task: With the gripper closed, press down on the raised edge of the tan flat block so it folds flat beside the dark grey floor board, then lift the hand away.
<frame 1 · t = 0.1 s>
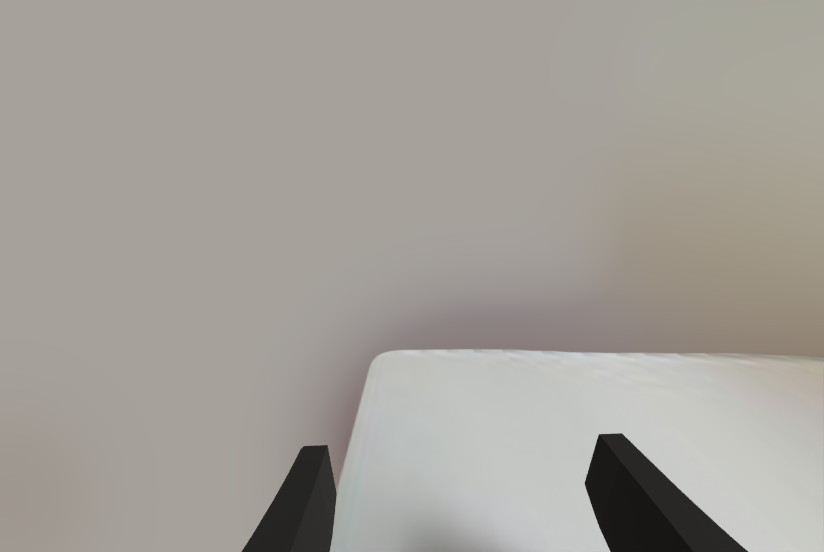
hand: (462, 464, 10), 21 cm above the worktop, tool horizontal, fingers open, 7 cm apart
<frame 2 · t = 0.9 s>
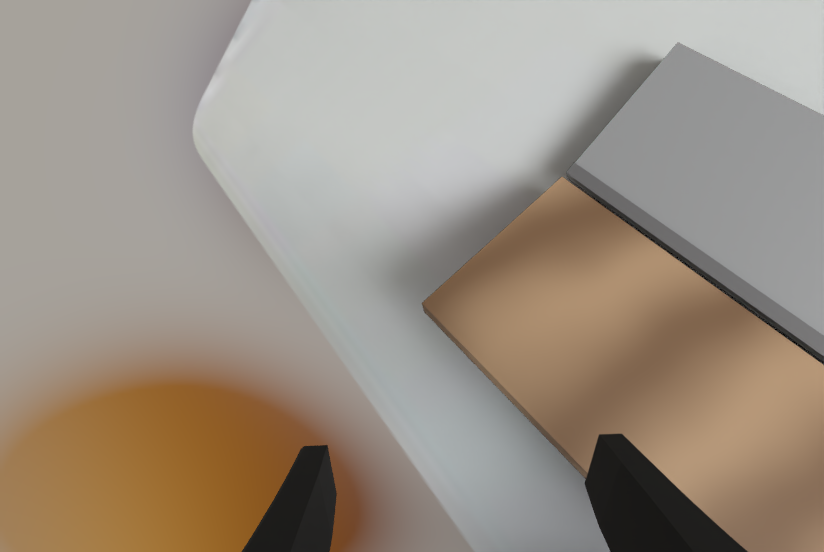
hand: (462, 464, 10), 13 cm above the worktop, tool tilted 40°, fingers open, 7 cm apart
tan flat block: (651, 380, 16), point 3 cm above the worktop, hinge at 30.0°
floor board: (796, 232, 16), on the worktop
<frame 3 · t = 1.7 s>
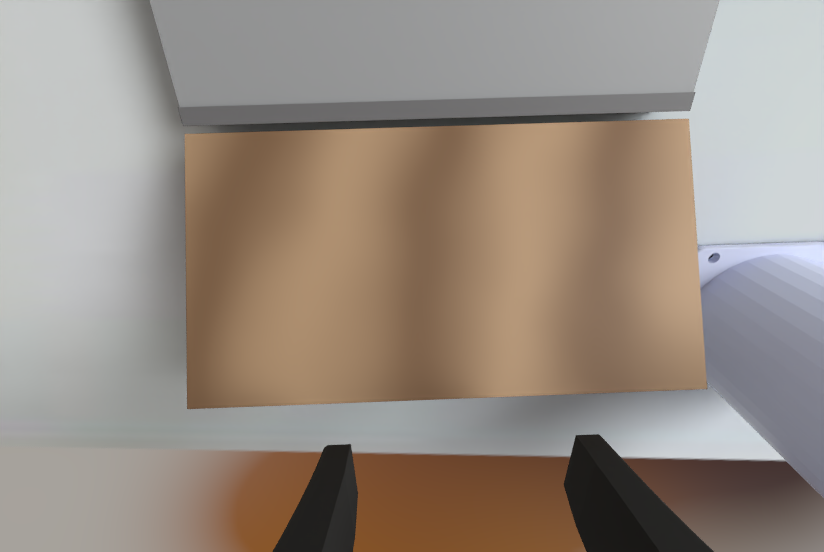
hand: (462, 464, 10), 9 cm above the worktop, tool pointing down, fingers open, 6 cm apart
tan flat block: (442, 262, 14), point 3 cm above the worktop, hinge at 30.0°
floor board: (435, 6, 13), on the worktop
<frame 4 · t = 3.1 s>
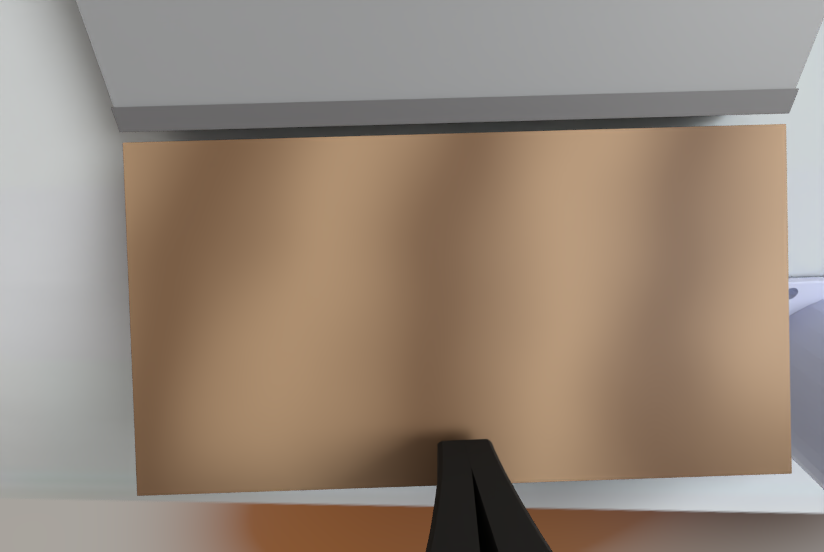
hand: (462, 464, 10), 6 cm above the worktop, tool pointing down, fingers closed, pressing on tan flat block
tan flat block: (457, 307, 11), point 3 cm above the worktop, hinge at 26.8°, touching gripper
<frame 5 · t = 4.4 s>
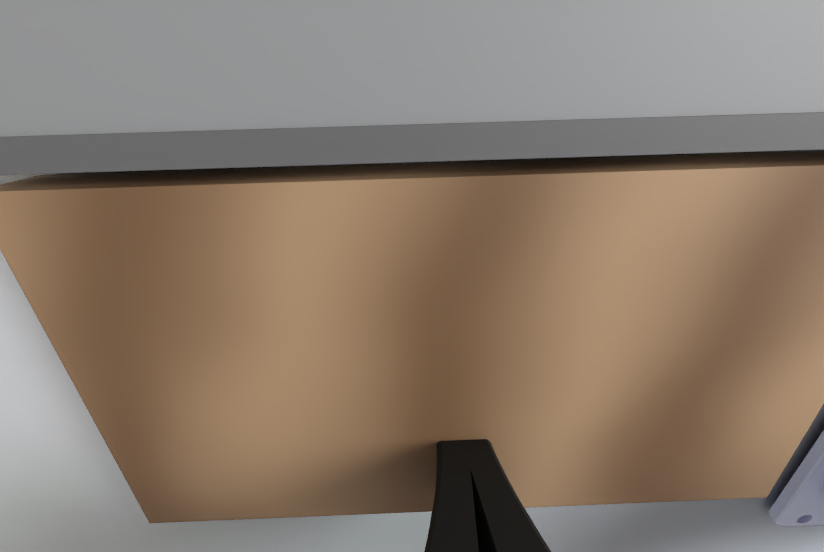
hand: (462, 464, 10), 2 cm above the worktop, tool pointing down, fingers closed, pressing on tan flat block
tan flat block: (462, 362, 10), point 1 cm above the worktop, hinge at 1.1°, touching gripper
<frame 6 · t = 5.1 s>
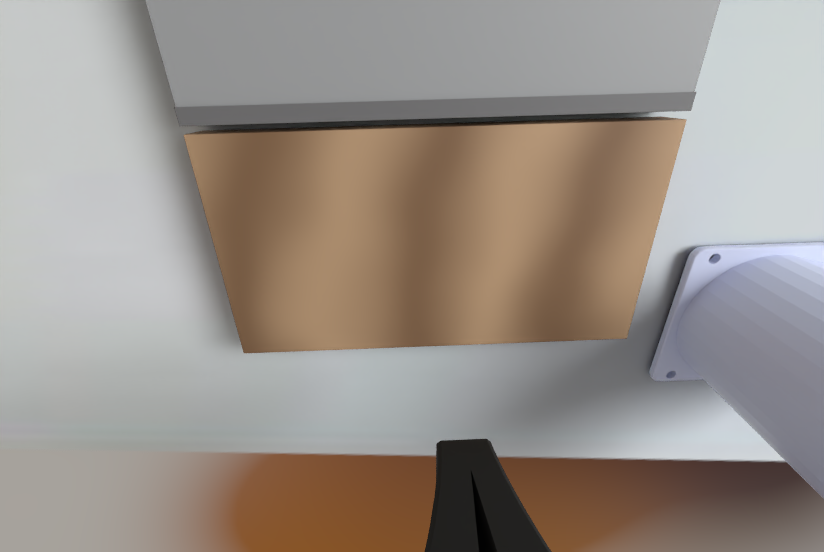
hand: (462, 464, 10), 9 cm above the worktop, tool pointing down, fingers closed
tan flat block: (435, 244, 16), point 1 cm above the worktop, hinge at 1.1°
floor board: (434, 5, 13), on the worktop
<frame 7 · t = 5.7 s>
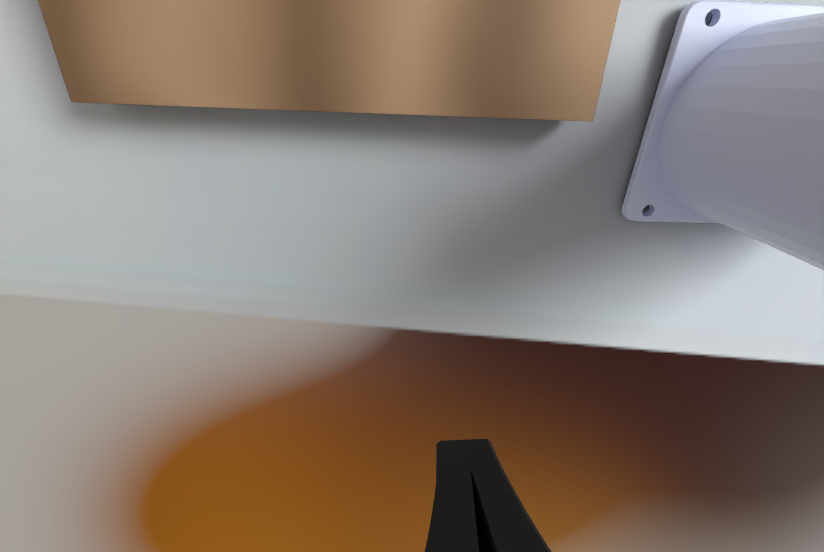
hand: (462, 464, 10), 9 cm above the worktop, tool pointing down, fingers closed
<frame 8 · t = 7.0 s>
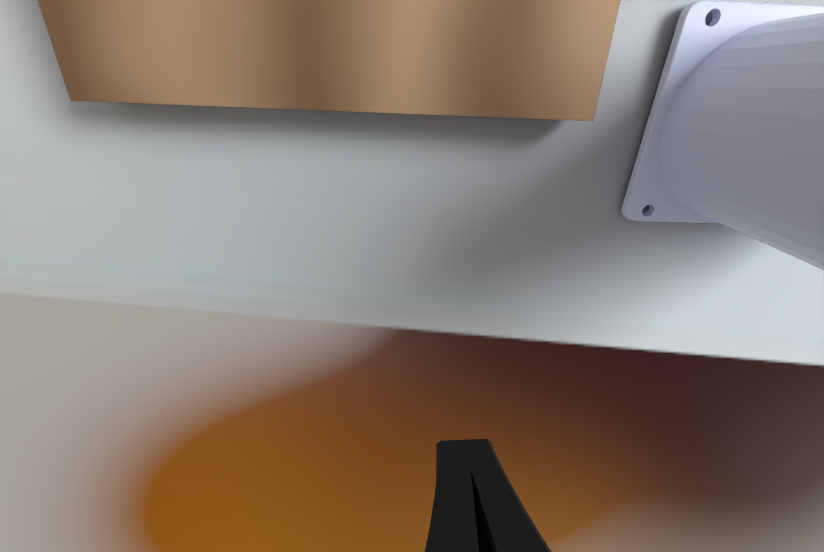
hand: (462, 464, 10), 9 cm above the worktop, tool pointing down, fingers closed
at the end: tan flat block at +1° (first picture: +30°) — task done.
